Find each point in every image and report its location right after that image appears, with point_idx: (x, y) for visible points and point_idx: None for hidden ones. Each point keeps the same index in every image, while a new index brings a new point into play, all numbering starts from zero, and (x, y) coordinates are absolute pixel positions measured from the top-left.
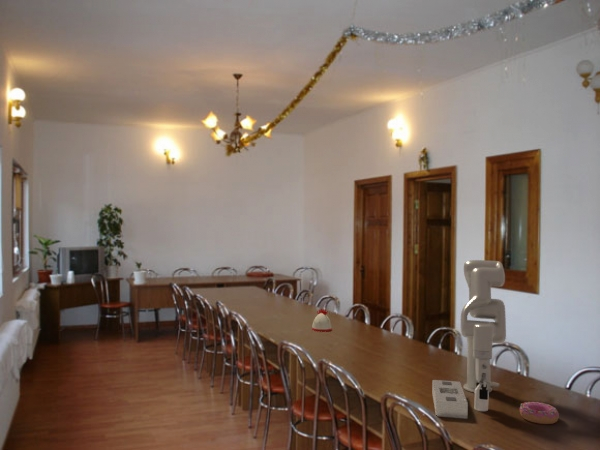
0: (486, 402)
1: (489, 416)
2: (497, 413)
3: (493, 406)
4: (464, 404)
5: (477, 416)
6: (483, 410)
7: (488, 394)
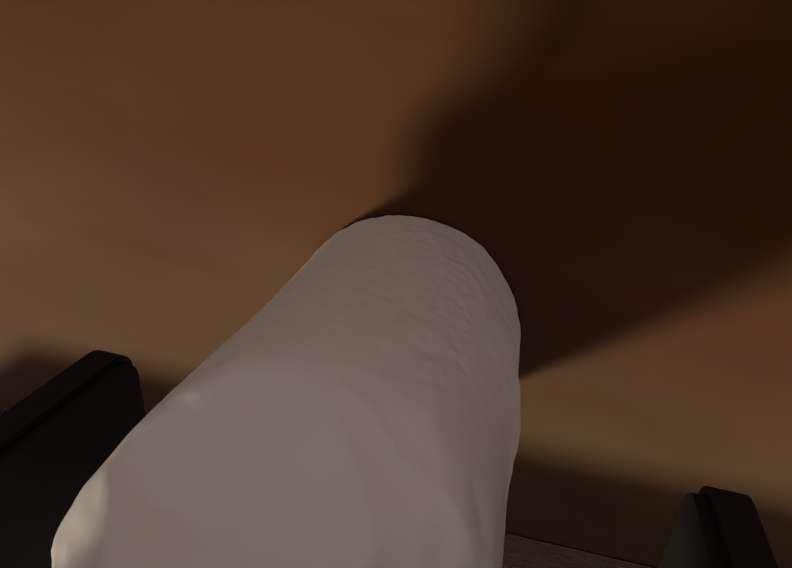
0: (497, 345)
1: (788, 292)
2: (615, 93)
3: (229, 70)
4: None
5: (770, 468)
6: (516, 319)
7: (411, 394)
